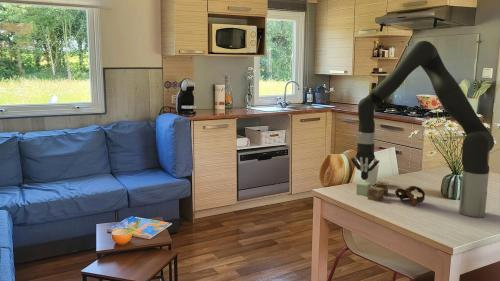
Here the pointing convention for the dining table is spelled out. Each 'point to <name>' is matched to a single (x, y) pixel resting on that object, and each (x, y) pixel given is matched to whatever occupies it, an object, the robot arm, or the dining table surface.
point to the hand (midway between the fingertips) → (364, 179)
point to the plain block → (363, 188)
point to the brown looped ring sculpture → (410, 194)
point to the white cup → (372, 175)
